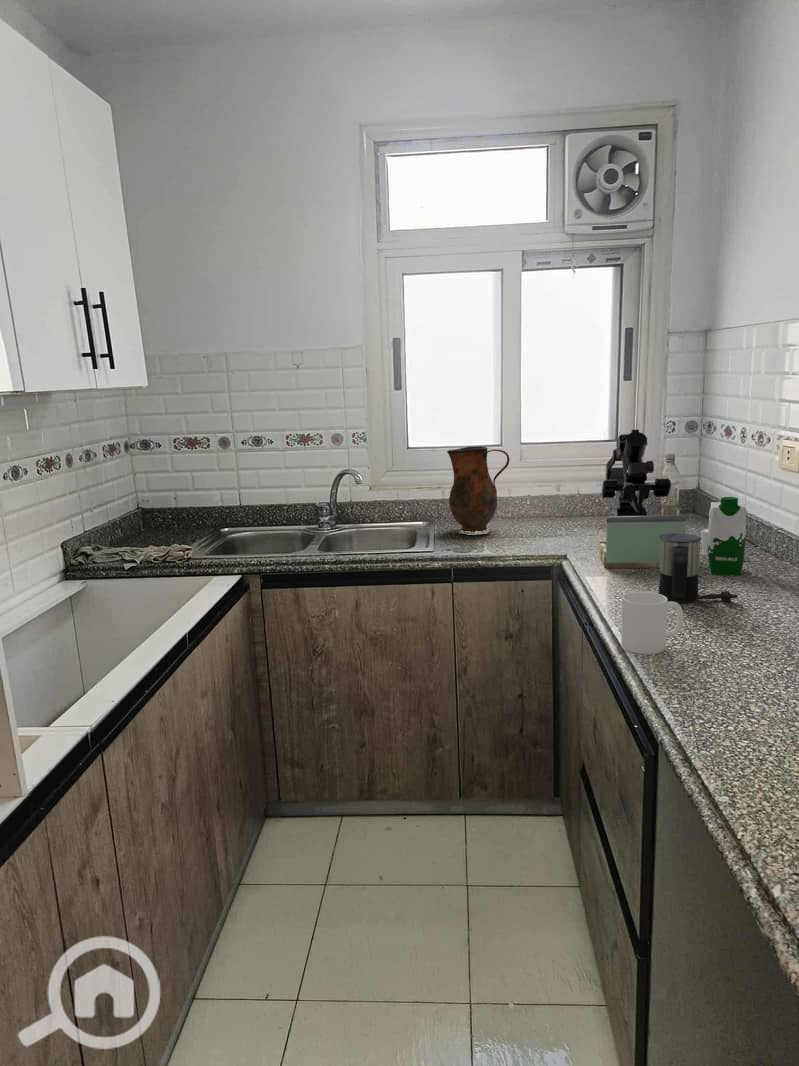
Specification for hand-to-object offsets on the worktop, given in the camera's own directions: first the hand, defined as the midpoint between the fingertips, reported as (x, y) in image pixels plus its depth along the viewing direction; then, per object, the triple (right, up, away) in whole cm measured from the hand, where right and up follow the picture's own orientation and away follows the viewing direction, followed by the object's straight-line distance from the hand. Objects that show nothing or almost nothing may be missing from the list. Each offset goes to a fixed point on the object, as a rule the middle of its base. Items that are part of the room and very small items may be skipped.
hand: (638, 512), depth 202 cm
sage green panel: (-1, -14, -8) cm, 16 cm away
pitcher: (-40, -6, +47) cm, 62 cm away
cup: (-19, -29, -63) cm, 72 cm away
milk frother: (+1, -22, -37) cm, 43 cm away
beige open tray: (0, -14, -2) cm, 14 cm away
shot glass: (+23, -12, +3) cm, 26 cm away
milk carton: (+18, -16, -15) cm, 28 cm away
